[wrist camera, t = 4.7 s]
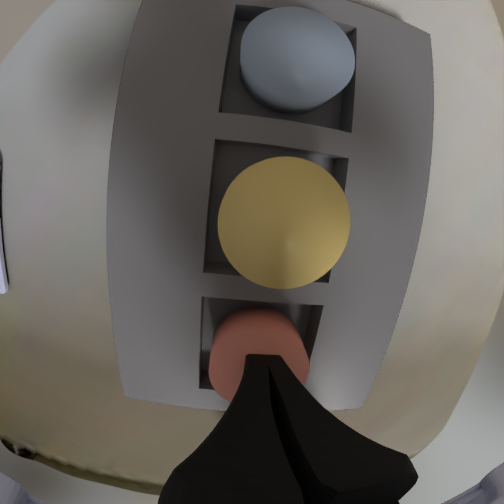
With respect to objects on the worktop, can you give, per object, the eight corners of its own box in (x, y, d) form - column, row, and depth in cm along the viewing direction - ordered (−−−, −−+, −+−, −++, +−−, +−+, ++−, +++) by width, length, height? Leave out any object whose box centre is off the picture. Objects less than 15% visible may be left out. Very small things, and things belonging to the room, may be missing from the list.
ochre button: (216, 261, 11) (212, 283, 9) (227, 153, 10) (225, 148, 8) (319, 270, 11) (337, 292, 9) (335, 168, 10) (358, 168, 8)
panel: (134, 374, 15) (124, 396, 13) (158, 2, 9) (148, -18, 7) (351, 385, 16) (361, 407, 14) (409, 45, 10) (430, 34, 8)
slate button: (234, 106, 10) (233, 92, 8) (246, 25, 9) (248, -1, 7) (331, 122, 11) (352, 112, 8) (337, 41, 10) (355, 21, 7)
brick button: (210, 373, 13) (207, 404, 11) (214, 301, 12) (210, 327, 10) (290, 377, 13) (298, 407, 11) (306, 308, 12) (319, 334, 10)
